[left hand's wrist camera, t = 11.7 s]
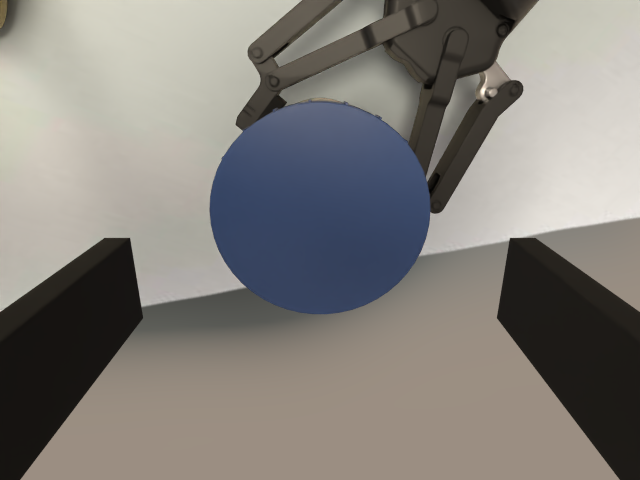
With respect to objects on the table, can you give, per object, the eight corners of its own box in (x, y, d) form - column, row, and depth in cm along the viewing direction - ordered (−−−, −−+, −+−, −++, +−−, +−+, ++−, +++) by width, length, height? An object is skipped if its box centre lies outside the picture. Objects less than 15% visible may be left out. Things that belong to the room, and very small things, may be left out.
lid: (217, 91, 19) (206, 92, 17) (437, 107, 19) (448, 110, 17) (219, 290, 22) (210, 308, 21) (406, 302, 23) (413, 320, 21)
